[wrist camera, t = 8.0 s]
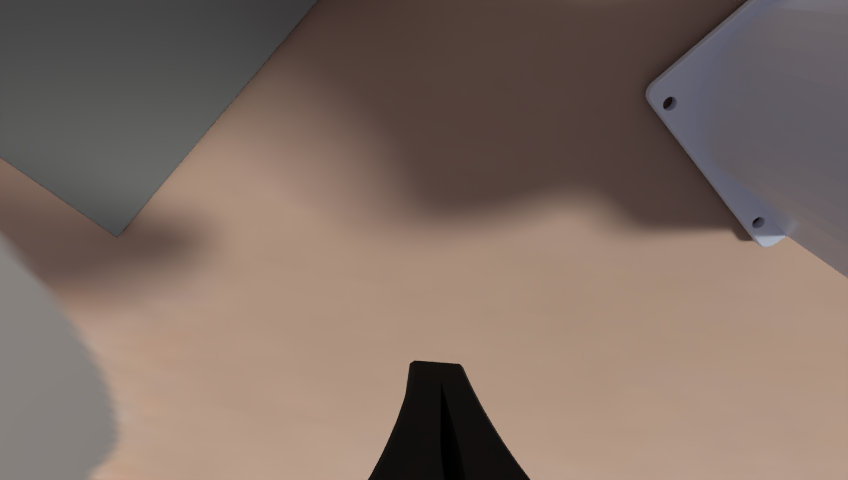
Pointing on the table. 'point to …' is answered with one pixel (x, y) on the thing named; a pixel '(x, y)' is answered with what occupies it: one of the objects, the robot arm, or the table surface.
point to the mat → (124, 89)
